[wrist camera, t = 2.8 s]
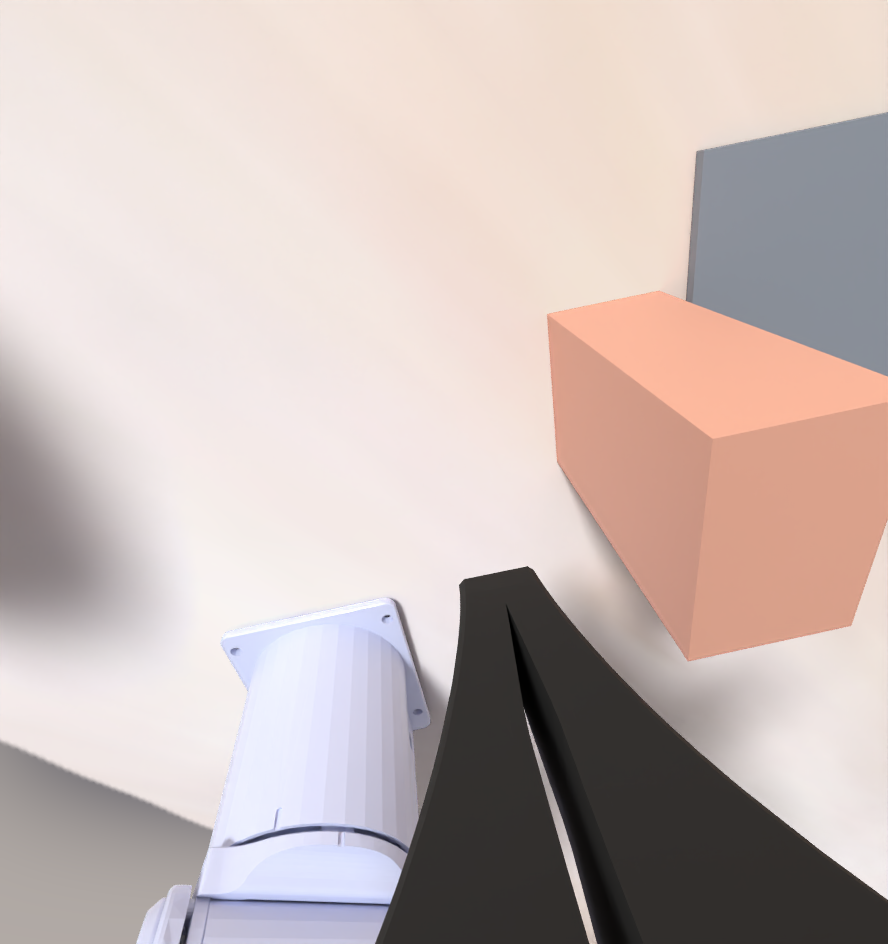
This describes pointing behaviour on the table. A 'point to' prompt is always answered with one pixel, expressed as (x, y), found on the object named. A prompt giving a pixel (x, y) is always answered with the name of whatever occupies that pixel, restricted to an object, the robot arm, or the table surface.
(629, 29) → the table surface
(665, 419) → the block
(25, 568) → the table surface
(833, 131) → the mat
